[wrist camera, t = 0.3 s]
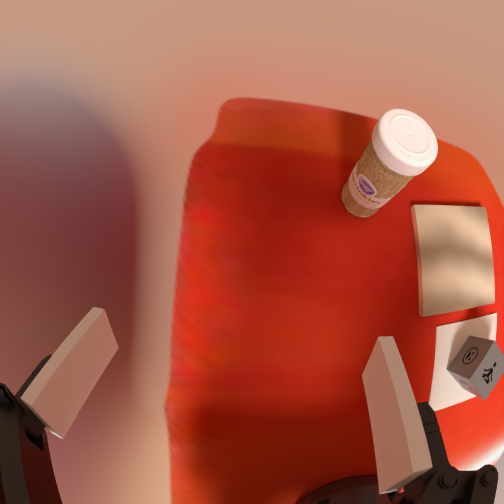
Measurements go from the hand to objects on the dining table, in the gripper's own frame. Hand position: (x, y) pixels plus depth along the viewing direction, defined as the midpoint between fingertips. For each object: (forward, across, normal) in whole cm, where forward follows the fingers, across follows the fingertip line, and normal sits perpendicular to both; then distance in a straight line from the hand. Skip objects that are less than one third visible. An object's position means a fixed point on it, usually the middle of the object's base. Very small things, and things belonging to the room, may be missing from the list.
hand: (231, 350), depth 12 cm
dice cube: (+9, -26, +12) cm, 31 cm away
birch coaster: (+16, -23, +2) cm, 28 cm away
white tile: (+9, -26, +12) cm, 30 cm away
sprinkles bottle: (+20, -10, -3) cm, 22 cm away
